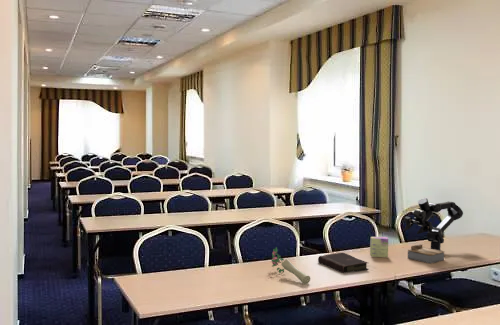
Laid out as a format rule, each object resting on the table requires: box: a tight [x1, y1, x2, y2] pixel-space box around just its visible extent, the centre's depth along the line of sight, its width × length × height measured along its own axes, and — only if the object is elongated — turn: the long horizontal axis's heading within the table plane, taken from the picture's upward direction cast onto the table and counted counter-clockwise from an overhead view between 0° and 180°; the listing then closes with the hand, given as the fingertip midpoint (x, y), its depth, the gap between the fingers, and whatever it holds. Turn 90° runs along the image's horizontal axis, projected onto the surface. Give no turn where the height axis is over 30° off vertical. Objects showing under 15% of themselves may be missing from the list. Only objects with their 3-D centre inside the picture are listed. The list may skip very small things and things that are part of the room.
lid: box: [407, 244, 445, 256], centre depth 315 cm, size 14×16×3 cm
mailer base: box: [407, 250, 445, 265], centre depth 316 cm, size 14×16×4 cm
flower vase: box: [270, 246, 311, 285], centre depth 278 cm, size 12×12×35 cm
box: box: [369, 236, 389, 258], centre depth 322 cm, size 10×6×12 cm, turn 84°
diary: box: [317, 252, 369, 274], centre depth 298 cm, size 19×25×5 cm
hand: (410, 231), depth 321 cm, fingers open, 9 cm apart
